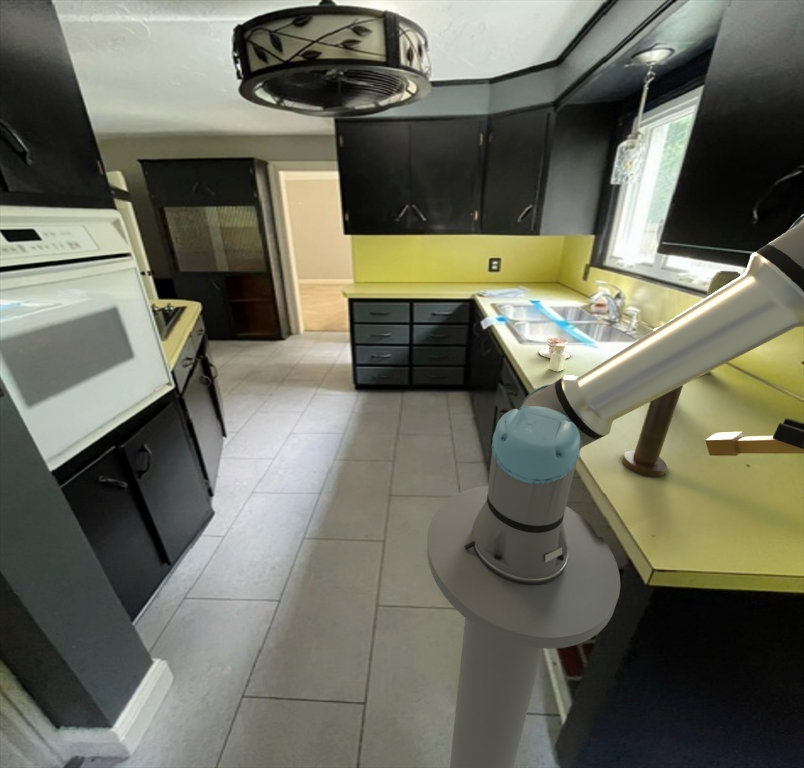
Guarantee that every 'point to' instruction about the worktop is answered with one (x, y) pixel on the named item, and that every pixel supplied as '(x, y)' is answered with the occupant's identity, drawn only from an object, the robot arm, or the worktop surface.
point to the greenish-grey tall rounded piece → (721, 282)
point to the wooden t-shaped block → (746, 444)
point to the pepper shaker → (557, 358)
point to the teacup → (553, 347)
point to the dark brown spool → (653, 436)
